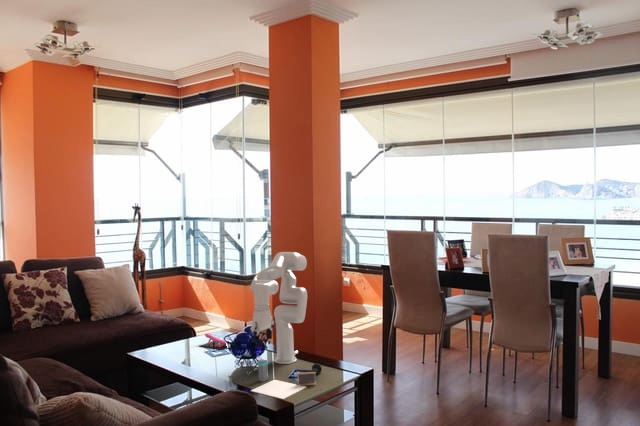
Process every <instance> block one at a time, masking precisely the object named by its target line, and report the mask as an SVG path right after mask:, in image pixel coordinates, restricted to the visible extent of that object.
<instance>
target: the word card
mask: <svg viewBox="0 0 640 426" xmlns="http://www.w3.org/2000/svg"><path fill="white" fill-rule="evenodd" d="M296 375H297V376H296V377H297V378H296V379H297V383H296V384H297V385H300V386H315V385H317V380H316V378H317V374H316V372H311V371H309V372H308V371H307V372H297V374H296Z"/></svg>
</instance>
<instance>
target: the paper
mask: <svg viewBox="0 0 640 426" xmlns="http://www.w3.org/2000/svg"><path fill="white" fill-rule="evenodd" d="M304 389H307V386H306V385H303V386H300V385H298V384H297V383H291V382H287V381H282V380H278V379H273V380H271V381H269V382H266V383H265V384H262V385H260V386H257V387H255V388H253V389H251V390H250V392H253V393H256V394H261V395H265V396H268V397H274V398H276V399H281V400H285V399H287V398H289V397H291V396H293V395H294V394H297V393H298V392H300V391H303V390H304Z"/></svg>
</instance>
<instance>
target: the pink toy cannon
mask: <svg viewBox="0 0 640 426" xmlns="http://www.w3.org/2000/svg"><path fill="white" fill-rule="evenodd" d="M204 336H205V337H206V339H207V338H208V342H206V343H203V344H200V345H198V348H204V349H208V350H209V349H210V350H215V349H216V351H220V350H221V351H223V350H225V349H228V348H227V346H226V343H225V340H226V339H222V338H220V337H217V336H215V335H212V334H211V333H209V332H207V333H205V334H204Z"/></svg>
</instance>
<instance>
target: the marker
mask: <svg viewBox="0 0 640 426" xmlns="http://www.w3.org/2000/svg"><path fill="white" fill-rule="evenodd" d="M257 367H258V368H257V369H258V381H259V382H266V381H268V380H269V379H268V376H269V375H268V360H267V359H259V360H258V362H257Z"/></svg>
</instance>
